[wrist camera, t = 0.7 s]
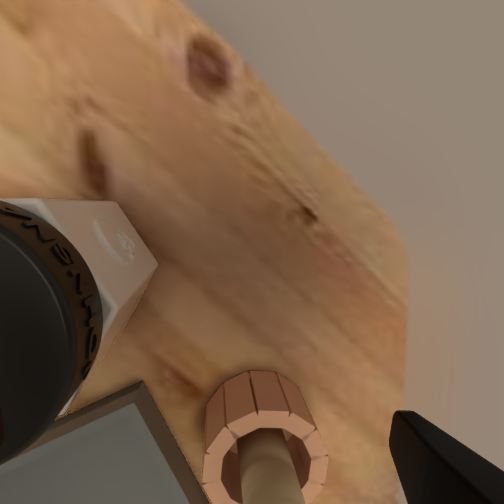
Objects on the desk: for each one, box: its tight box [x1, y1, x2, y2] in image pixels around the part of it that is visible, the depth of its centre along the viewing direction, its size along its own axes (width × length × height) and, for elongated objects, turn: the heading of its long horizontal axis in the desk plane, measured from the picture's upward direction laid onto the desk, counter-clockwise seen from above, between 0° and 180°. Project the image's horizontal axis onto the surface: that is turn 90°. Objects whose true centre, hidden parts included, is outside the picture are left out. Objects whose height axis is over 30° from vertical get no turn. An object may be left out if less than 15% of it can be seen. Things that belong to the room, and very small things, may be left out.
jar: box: [0, 198, 158, 465], centre depth 15 cm, size 9×8×12 cm
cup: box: [202, 370, 329, 504], centre depth 21 cm, size 7×7×4 cm
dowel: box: [236, 428, 305, 504], centre depth 18 cm, size 3×3×10 cm
